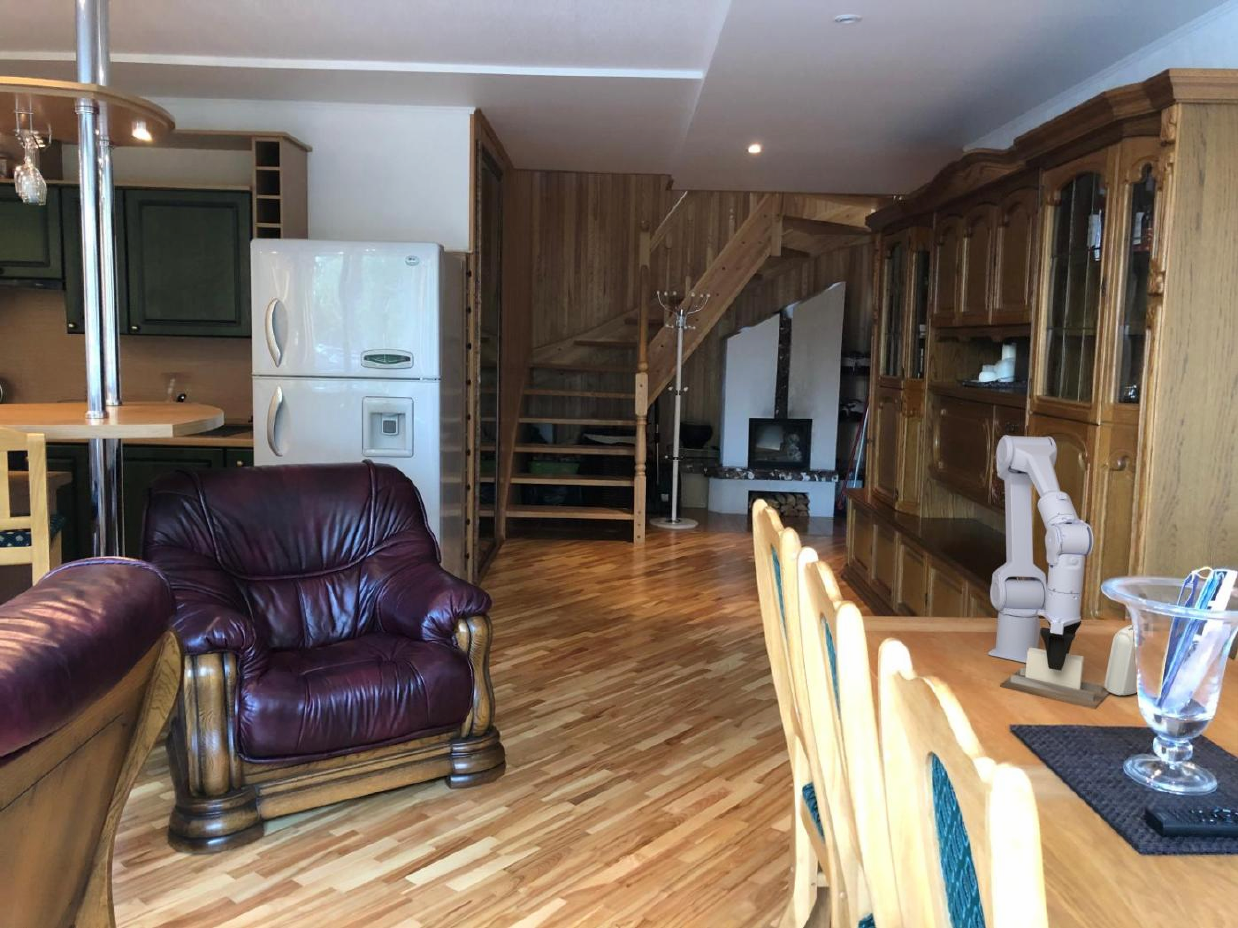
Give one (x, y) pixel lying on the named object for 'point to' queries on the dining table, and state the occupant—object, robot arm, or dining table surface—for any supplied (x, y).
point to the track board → (1058, 690)
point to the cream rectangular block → (1041, 671)
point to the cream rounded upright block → (1121, 664)
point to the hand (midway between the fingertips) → (1057, 663)
